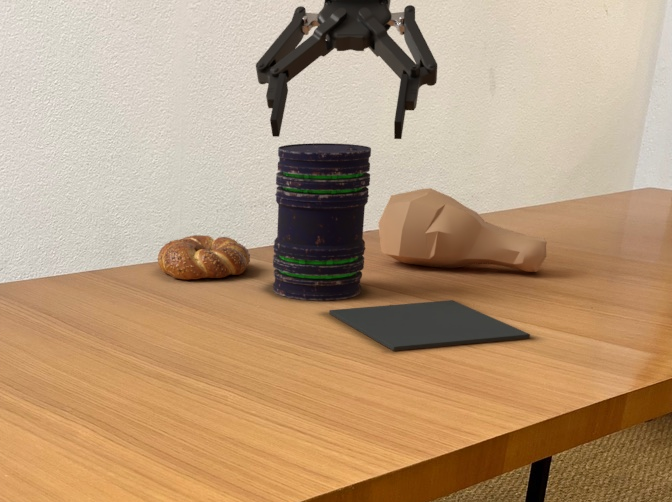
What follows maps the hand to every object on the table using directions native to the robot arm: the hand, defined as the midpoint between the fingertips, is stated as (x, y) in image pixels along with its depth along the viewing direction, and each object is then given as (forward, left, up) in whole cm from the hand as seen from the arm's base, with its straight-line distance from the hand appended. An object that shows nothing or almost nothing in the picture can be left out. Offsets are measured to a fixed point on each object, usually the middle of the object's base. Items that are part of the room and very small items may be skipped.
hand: (335, 129), depth 116 cm
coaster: (-24, 0, -16) cm, 29 cm away
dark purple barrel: (-7, +4, -16) cm, 18 cm away
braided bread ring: (+6, +13, -16) cm, 22 cm away
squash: (-1, -17, -16) cm, 23 cm away
